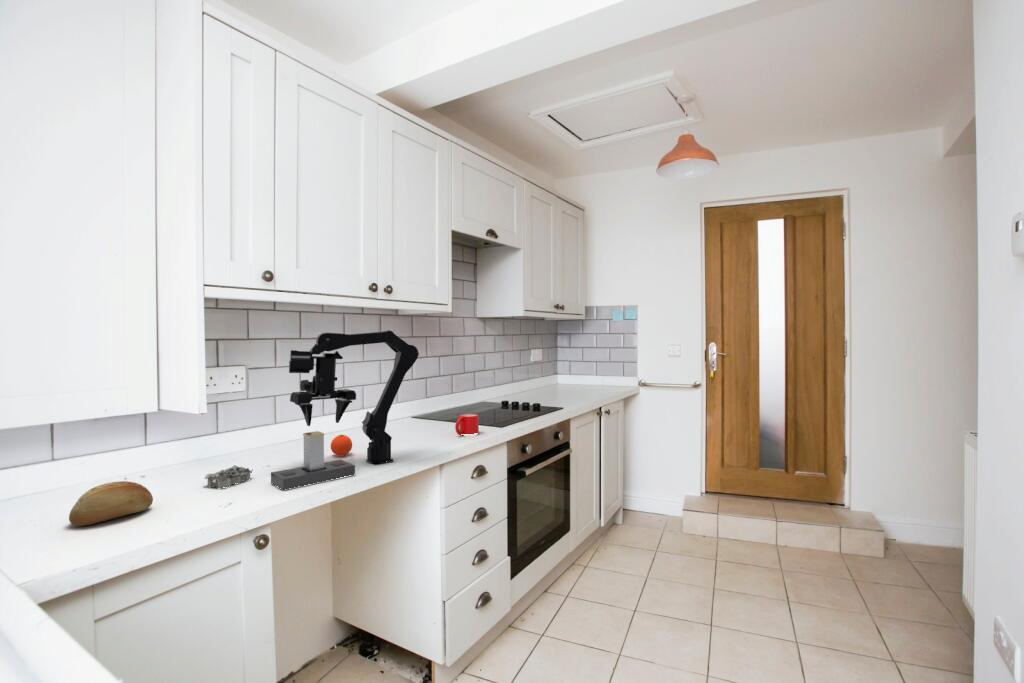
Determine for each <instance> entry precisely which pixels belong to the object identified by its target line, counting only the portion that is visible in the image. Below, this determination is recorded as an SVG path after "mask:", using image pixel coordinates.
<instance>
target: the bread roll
mask: <svg viewBox="0 0 1024 683" xmlns="http://www.w3.org/2000/svg"><path fill="white" fill-rule="evenodd" d="M153 501H154V499H153V495H152V493H151V491H150V490H149V489H148V488H147V487H146V486H144V485H142V484H140V483H138V482H135V481H134V482H133V481H126V480H123V481H111V482H108V483H102V484H99V485H97V486H95V487H92V488H90V489H88V490H87V491H85V492H84V493H83V494H82V495H81V496H80V497H79V498H78V499H77V501H76V502H75V504H73V506H72V508H71V510H70V512H69V515H68V521H69V524H70V525H72V526H75V527H85V526H90V525H94V524H98V523H101V522H105V521H109V520H113V519H116V518H120V517H124V516H126V515H130V514H135V513H139V512H140V513H141V512H143V511H146V510H147V509H149V507H151V506H152V505H153Z"/></svg>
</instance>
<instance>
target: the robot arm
mask: <svg viewBox="0 0 1024 683" xmlns="http://www.w3.org/2000/svg"><path fill="white" fill-rule="evenodd" d="M383 343H384V344H386V345H387V347H389V348H390V349H391V350H392V351H393V352H394V353H395V356H394V360H393V361H394V362H393V368H392V370H391V373H390V375H389V377H388V378H387V382H386V384H385V386H384V388H383V390H382V393H381V395H380V398H379V399H378V402H377V404H376V406H375V408H374V409H373V410H372V411H371V412H369V411H367V412H366V413H365V417H364V419H363V420H362V422H361V423H362V428H361V429H362V432H363V433H364V435H365V436H366V437H367V438H369V440H370V441H369V442H368V447H367V448H366V449H367V450H366V453H367V455H366V460H367V461H366V460H365V461H366V462H368V461H370V462H369V463H371V462H372V463H371V464H373V463H380V464H382V463H381V462H385V463H387V462H386V461H391V462H394V459H393V458H392V439H393V437H392V435H390V434H389V433H387V432H386V427H387V421H388V414H389V412H390V410H391V408H392V405H393V402H394V401H395V398H396V396H397V393H398V392H399V389H400V387H401V385H402V383H403V381H404V378H405V376H406V374H407V372H409V370H411V368H412V367H413V365H414V364H415V363H416V361H417V359H418V358H419V355H420V354H419V353H420V352H419V350H418V347H416V346H415V345H414V344H409V343H408V342H406V341H404V340H403V339H402V338H400V337H399V336H398V335H396V333H394V332H393V331H392V330H390V329H389V330H382V331H374V332H373V331H371V332H361V333H359V332H357V333H347V334H346V333H341V332H340V333H338V332H328V331H327V332H322V333H320V334H318V336H316V340H315V344H314V345H313V346H312V348H310V350H309V351H308V350H306V351H305V350H303V351H302V350H296V349H295V350H294V349H291V350H290V356H289V361H288V373H289V374H310V373H311V371H313V370H314V369H315V375H313V376H312V381H309V379H302V380H300V381H299V382H300V383H299V388H300V391H293V392H292V393H291V394H290V398H289V402H291V403H294V405H297V406H298V407H299V408H300V410H301V412H302V414H303V417H304V420H305V423H306V426H307V427H310V426H311V424H312V416H313V403H311V402H312V401H315V400H318V401H319V400H331V399H334V401H335V405H336V406H335V408H336V409H335V423H337V424H338V423H339V422H340V421H341V419H342V417H343V415H344V413H345V411H346V410H347V408H348V407H349V405H350V404H352V403H353V401H355V400H357V392H356V391H355V390H353V389H349V388H344V389H337V390H335V388H336V386H335V385H336V382H337V381H338V377H336V365H337V360H343V358H344V357H343V356H342V355H341V354H340V353H339V351H338V349H339V350H340V349H343V348H344V349H345V347H346V348H347V347H352V346H361V345H370V344H371V345H373V344H383ZM335 350H336V351H335ZM333 351H334V352H333ZM323 352H326V353H323ZM329 352H332V353H329ZM322 353H323V355H322V356H321V354H322ZM319 355H320V356H319Z"/></svg>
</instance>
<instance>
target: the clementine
mask: <svg viewBox="0 0 1024 683" xmlns="http://www.w3.org/2000/svg"><path fill="white" fill-rule="evenodd" d="M330 442H331V443H330V450H331V452H332V453H333V454H334V455H335V456H339V457H343V456H346V455H348V454H349V453H350V452H351V451H352V449H353V441H352V439H351V438H350V436H347V435H345V434H338V435H337V436H335V437H334V438H333V439H332V440H331V441H330Z"/></svg>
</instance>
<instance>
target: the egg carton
mask: <svg viewBox="0 0 1024 683" xmlns="http://www.w3.org/2000/svg"><path fill="white" fill-rule="evenodd" d="M253 472H254V469H253V468H252V469H249V467H246V468H245V467H243V466H238V465H233V466H231V467H229V468H225V469H221V470H220V471H216V472H214V473H208V474H206V475H205V476H204V478H203V479H204V480H207V488H208V487H212V486H218V487H217V489H218V488H223V487H229V486H232V485H231V484H235V483H240V484H241V481H242V480H249V479H250V480H251V474H253ZM250 480H249V481H250ZM242 482H243V481H242ZM235 485H236V484H235ZM212 488H213V487H212ZM229 488H230V487H229ZM223 489H224V488H223Z"/></svg>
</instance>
